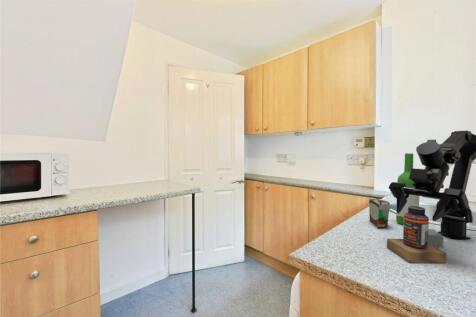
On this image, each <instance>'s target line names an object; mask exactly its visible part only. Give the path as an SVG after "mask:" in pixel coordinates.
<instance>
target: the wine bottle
mask: <svg viewBox="0 0 476 317" xmlns="http://www.w3.org/2000/svg"><path fill="white" fill-rule="evenodd" d="M404 153H405V152H404ZM403 169H404V171H403V172H402V173H401V174H399V175H398V178H397V181H396V182H397V183H405V185H406V187H407V188H414V189H415V186H413V185H412V183H413V181H412V180H411V179H409V175H410V171H411V169H414V153H411V152H410V153H407V152H406V153H405V154H404V168H403ZM409 206H417V207H420V196H416V195H409V197H408V198H407V203H406V204H405V206H404V207H403V209H402V211H401V212H400V213H397V211H396V212H395V215H396V216H395V222H396V223H398V224H399V225H402V226H404V215H405V213H408V207H409ZM395 208H396V209H395V210H397V204H396V207H395Z"/></svg>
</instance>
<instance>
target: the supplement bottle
mask: <svg viewBox="0 0 476 317" xmlns="http://www.w3.org/2000/svg"><path fill="white" fill-rule="evenodd" d="M429 224H430V218H429V217H428V216H427V214H426V208H424V207H421V206H419V207H417V206H409V207H408V213H405V215H404V225H403V231H402V232H403V233H402V239H403V242H404V243H405V244H406V245H408V246H411V247H414V248H426V247H427V246H428V229H430V228H429Z"/></svg>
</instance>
